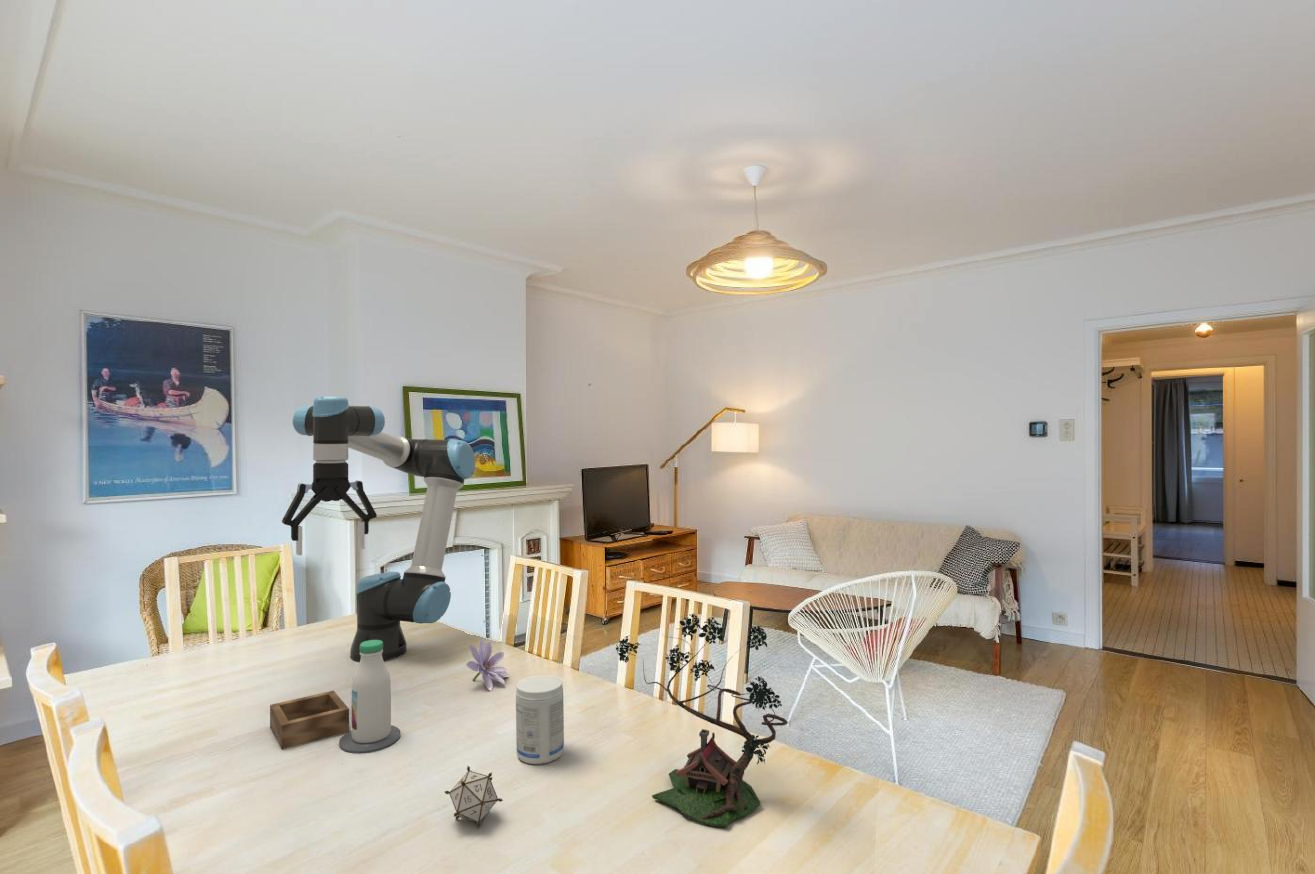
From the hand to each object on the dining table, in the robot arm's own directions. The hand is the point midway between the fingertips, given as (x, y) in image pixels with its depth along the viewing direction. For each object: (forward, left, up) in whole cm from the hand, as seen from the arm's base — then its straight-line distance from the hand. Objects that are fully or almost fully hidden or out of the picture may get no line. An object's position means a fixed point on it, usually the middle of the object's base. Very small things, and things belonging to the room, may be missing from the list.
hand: (331, 551), depth 160 cm
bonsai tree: (-44, +80, -37) cm, 98 cm away
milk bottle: (-2, +24, -36) cm, 44 cm away
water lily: (-35, +11, -37) cm, 52 cm away
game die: (-7, +65, -37) cm, 75 cm away
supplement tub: (-27, +52, -37) cm, 69 cm away
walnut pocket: (+7, +11, -37) cm, 39 cm away
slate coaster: (-2, +24, -37) cm, 44 cm away
